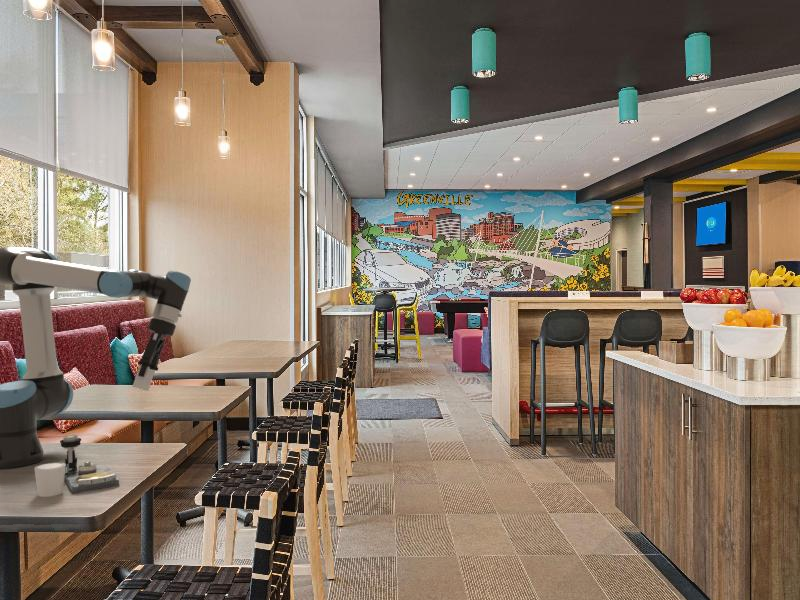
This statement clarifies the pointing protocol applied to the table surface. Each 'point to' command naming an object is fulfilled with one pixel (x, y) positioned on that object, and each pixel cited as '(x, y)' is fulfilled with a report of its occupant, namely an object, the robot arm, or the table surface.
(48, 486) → the white tapered cup
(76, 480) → the carrier plate
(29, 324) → the robot arm
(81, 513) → the table surface
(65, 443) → the push button
